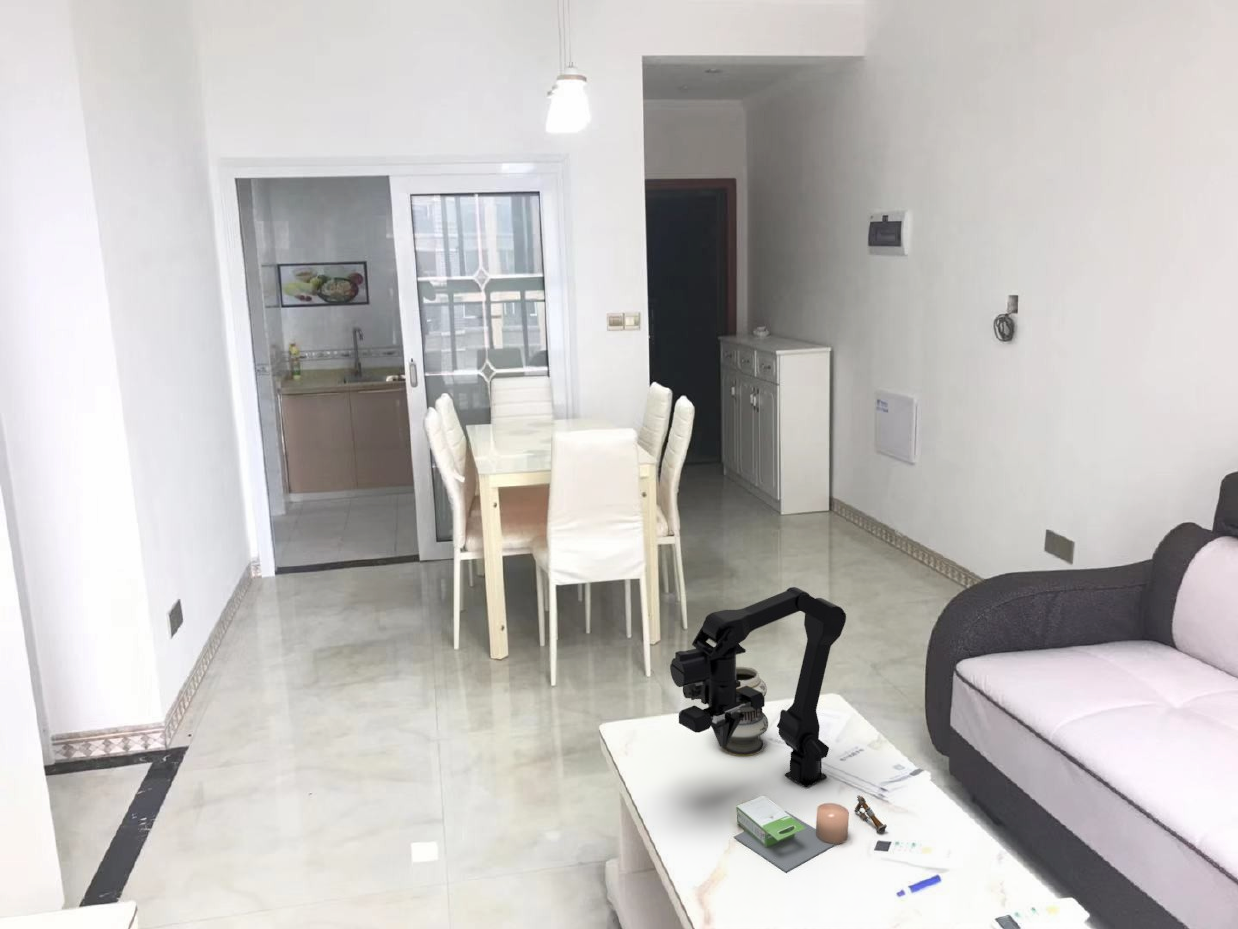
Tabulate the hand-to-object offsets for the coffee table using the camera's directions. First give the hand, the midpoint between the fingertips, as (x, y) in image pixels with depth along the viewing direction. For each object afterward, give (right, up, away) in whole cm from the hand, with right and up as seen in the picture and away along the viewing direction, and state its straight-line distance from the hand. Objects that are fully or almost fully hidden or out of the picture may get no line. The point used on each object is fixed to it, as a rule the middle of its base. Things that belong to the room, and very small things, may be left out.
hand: (722, 747), depth 198 cm
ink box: (+5, -11, -4) cm, 13 cm away
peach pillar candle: (+20, -14, -10) cm, 26 cm away
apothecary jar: (+7, -7, +25) cm, 27 cm away
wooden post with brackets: (+28, -14, -7) cm, 32 cm away
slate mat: (+11, -15, -11) cm, 22 cm away
